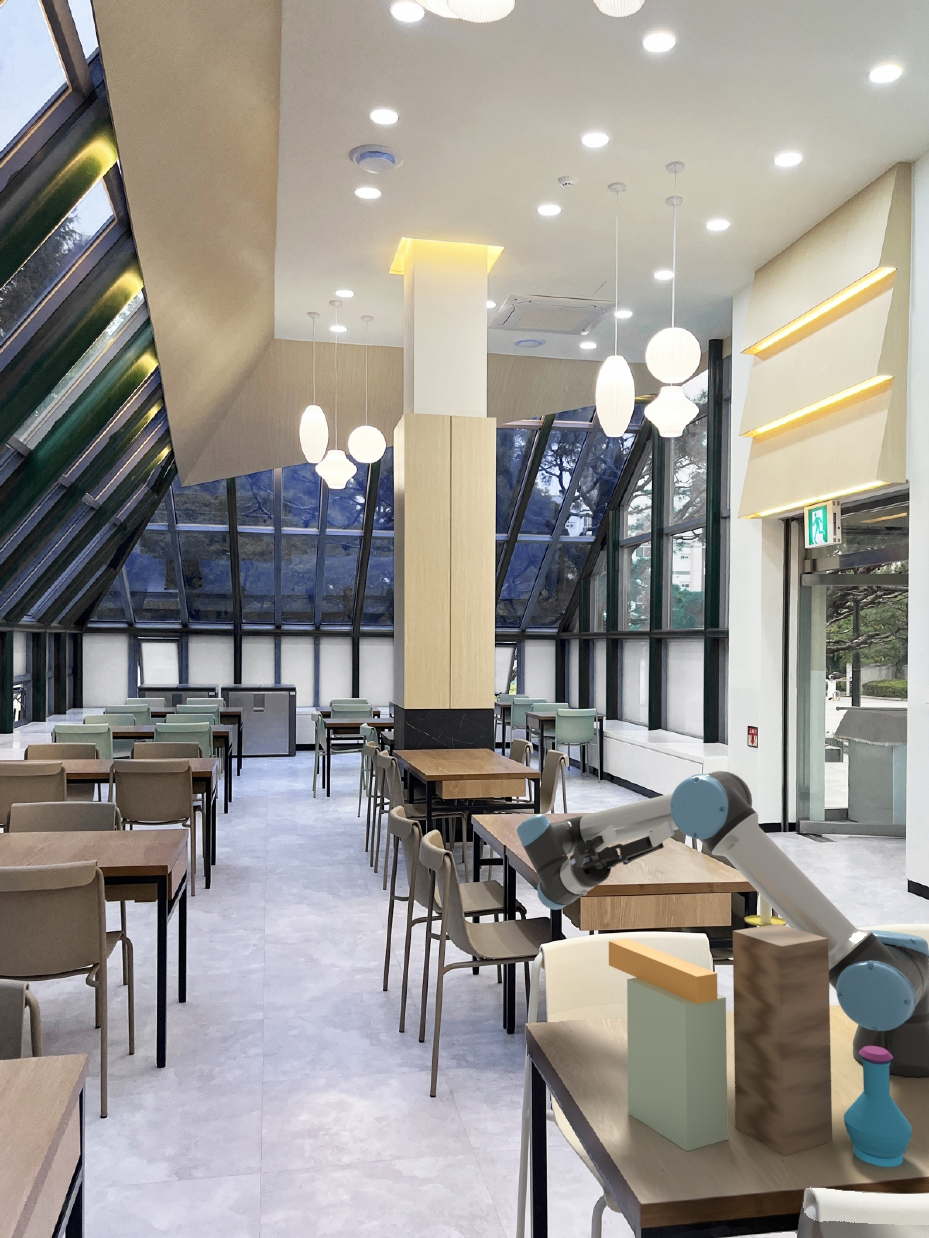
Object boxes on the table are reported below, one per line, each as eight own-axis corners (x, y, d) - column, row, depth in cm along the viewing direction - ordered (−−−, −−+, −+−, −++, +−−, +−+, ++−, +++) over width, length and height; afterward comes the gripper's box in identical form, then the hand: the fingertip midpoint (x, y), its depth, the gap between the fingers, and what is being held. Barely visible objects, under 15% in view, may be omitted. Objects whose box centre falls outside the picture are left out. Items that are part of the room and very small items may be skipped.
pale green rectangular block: (627, 1112, 150) (627, 979, 151) (666, 1102, 154) (665, 972, 155) (687, 1151, 138) (685, 1005, 139) (727, 1139, 141) (725, 997, 143)
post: (735, 1126, 145) (732, 930, 148) (781, 1113, 150) (778, 923, 152) (784, 1155, 136) (781, 946, 139) (832, 1140, 141) (828, 938, 143)
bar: (608, 965, 159) (608, 941, 159) (627, 962, 161) (627, 938, 161) (697, 1003, 140) (696, 976, 140) (717, 999, 142) (717, 973, 142)
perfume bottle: (912, 1148, 139) (909, 1044, 140) (913, 1177, 131) (910, 1066, 132) (846, 1135, 143) (843, 1034, 144) (842, 1162, 135) (840, 1055, 136)
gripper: (640, 881, 196) (700, 843, 180) (540, 893, 184) (595, 853, 169) (628, 847, 200) (686, 807, 184) (529, 856, 188) (582, 814, 172)
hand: (643, 829), depth 176 cm, fingers open, 13 cm apart
